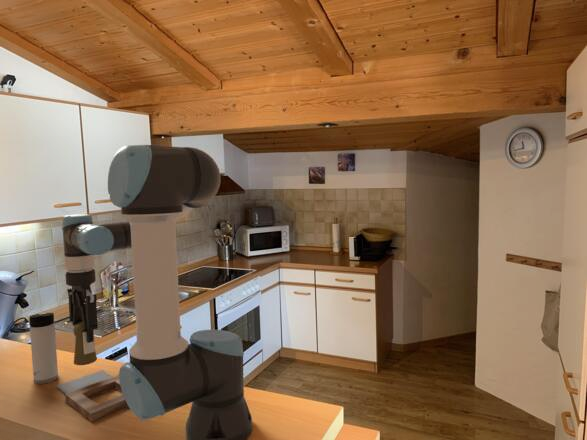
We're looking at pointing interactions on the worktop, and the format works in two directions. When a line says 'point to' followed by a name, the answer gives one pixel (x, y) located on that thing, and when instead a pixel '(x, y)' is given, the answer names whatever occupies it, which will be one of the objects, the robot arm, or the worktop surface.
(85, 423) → the worktop surface
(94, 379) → the grey mat
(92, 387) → the walnut holder
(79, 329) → the cork
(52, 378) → the travel mug
